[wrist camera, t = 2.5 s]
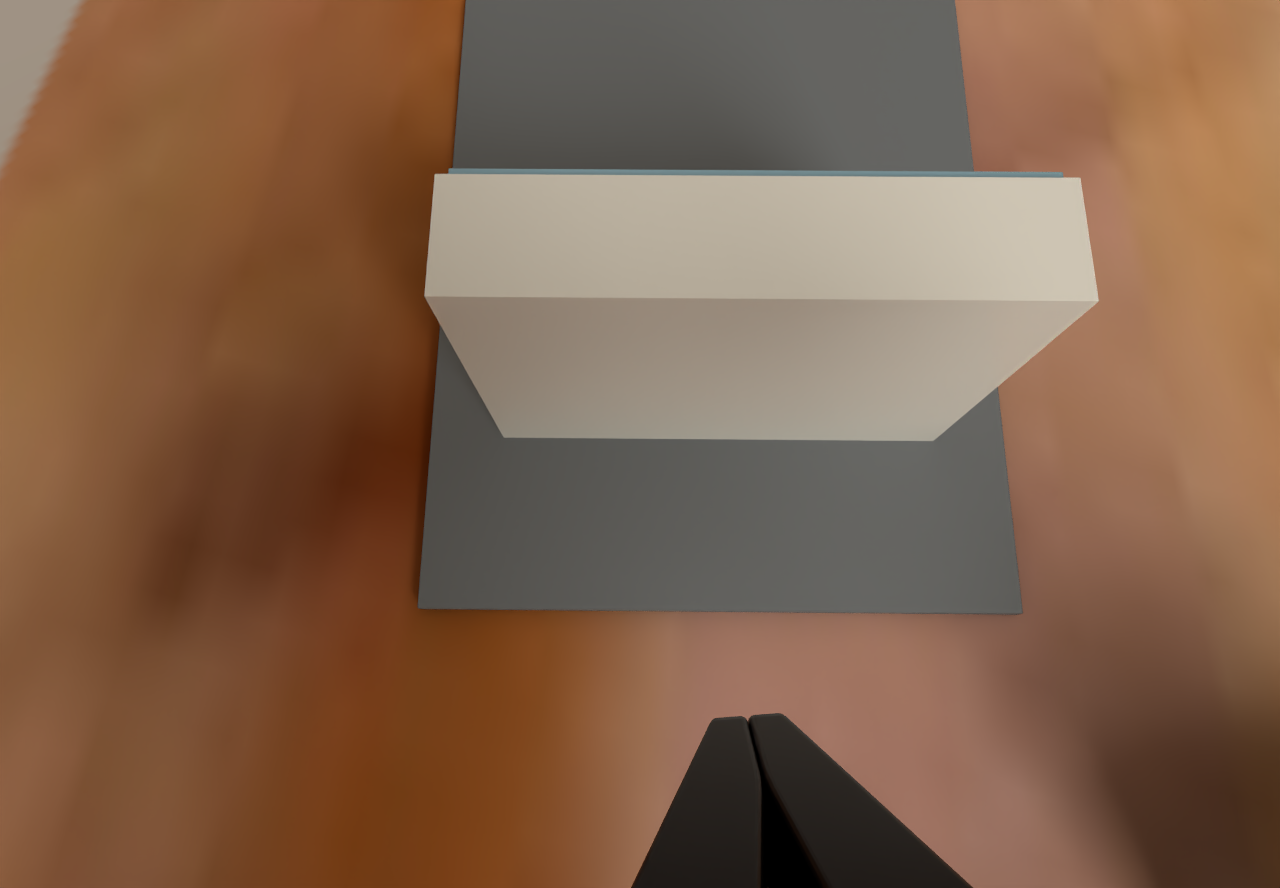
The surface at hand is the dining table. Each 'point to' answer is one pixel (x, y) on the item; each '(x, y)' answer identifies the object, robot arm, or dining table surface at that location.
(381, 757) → the dining table surface
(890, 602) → the mat
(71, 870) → the dining table surface
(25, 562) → the dining table surface
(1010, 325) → the tile
